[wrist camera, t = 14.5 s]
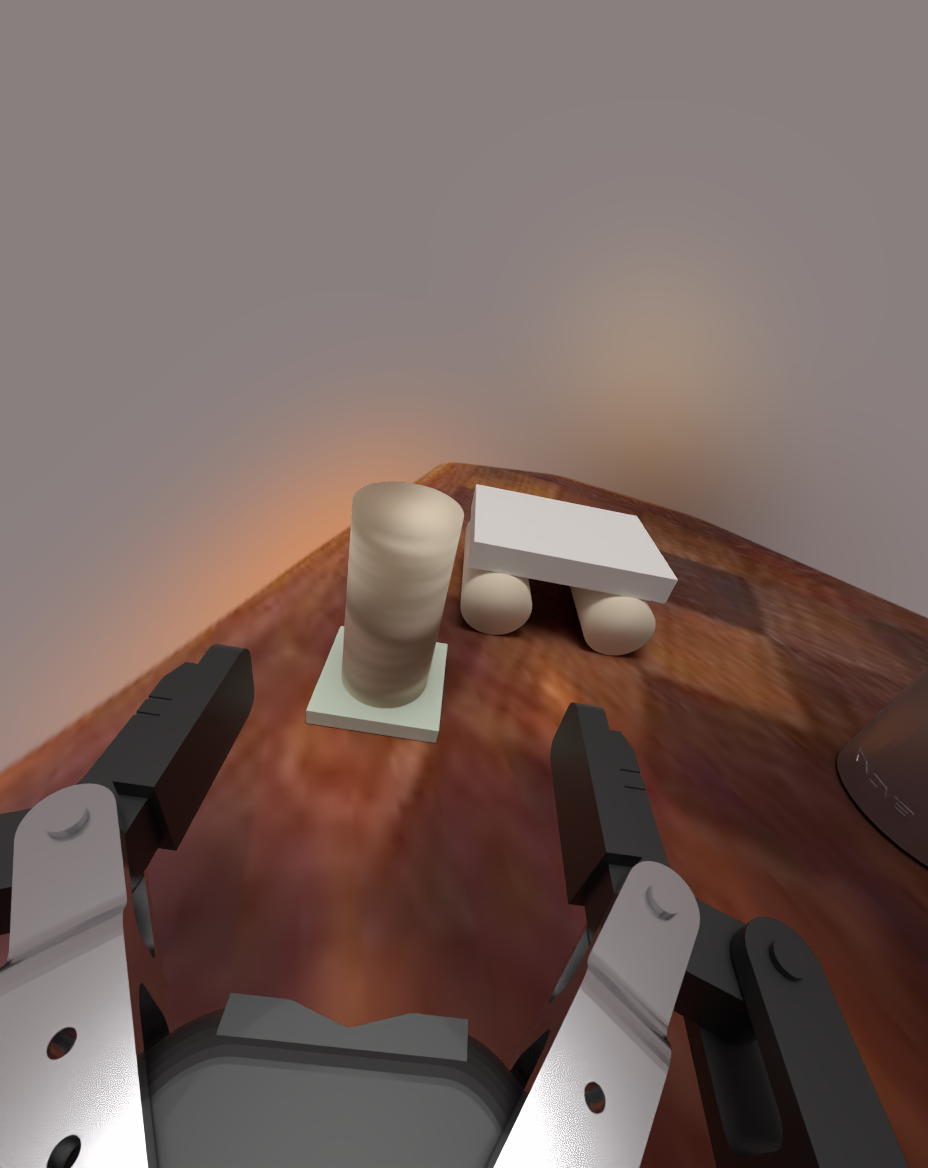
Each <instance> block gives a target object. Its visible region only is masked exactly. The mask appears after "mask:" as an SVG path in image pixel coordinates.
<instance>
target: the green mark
mask: <svg viewBox="0 0 928 1168" xmlns="http://www.w3.org/2000/svg"><path fill="white" fill-rule="evenodd" d="M343 642H344V626H341V627H340V629H339V632H338V634H337V636H336V639H335V641H334V644H333V646H332V649H331V651H330V654H329V656H328V658H327V661H326V663H325V666H324V668H323V671H322V673H321V675H320V678H319V680H318V683H317V685H316V688H315V690H314V693H313V695H312V697H311V700H310V702H309V705H308V707H307V710H306V723H309V724H316V725H322V726H328V727H335V728H341V729H348V730H354V731H361V732H367V733H374V734H380V735H387V736H393V737H400V738H406V739H413V740H419V741H426V742H432V743H436V740H437V736H438V733H439V724H440V714H441V704H442V694H443V684H444V674H445V664H446V654H447V644H443V643H437V642H436V645H435V650H434V654H433V659H432V663H431V668H430V672H429V677H428V681H427V685H426V688H425V690H424V691H423V693H422V694H421V695H420V696H419V697H418V698H417V699H416V700H414V701H413V702H411V703H409V704H407V705H404V706H401V707H397V708H376V707H371V706H368V705H365V704H363V703H361V702H359V701H358V700H356V699H355V698H353V697H352V696H351V695H350V694H349V693H348V692H347V690H346V689H345V687H344V685H343V682H342V676H341V673H342V657H343Z"/></svg>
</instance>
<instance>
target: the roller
mask: <svg viewBox="0 0 928 1168" xmlns="http://www.w3.org/2000/svg"><path fill="white" fill-rule="evenodd" d="M463 519H464V513H463V510H462V508H461V507H460V505H459V504H458V503H457V502H456V501H455V500H453V499H452V498H451V497H449V496H447V495H446V494H444V493H442V492H440V491H437V490H435V489H432V488H429V487H426V486H422V485H418V484H413V483H405V482H380V483H375V484H371V485H367V486H365V487H363V488H361V489H360V490H358V491H357V492H356V493H355V495H354V497H353V504H352V518H351V533H350V549H349V564H348V580H347V595H346V611H345V626H344V642H343V657H342V673H341V676H342V682H343V685H344V687H345V689H346V690H347V692H348V693H349V694H350V695H351V696H352V697H353V698H355V699H356V700H358V701H359V702H361V703H363V704H365V705H368V706H371V707H376V708H397V707H401V706H404V705H407V704H409V703H411V702H413V701H414V700H416V699H417V698H418V697H419V696H420V695H421V694H422V693H423V691H424V690H425V688H426V685H427V681H428V677H429V672H430V668H431V663H432V659H433V654H434V650H435V645H436V641H437V636H438V632H439V627H440V623H441V618H442V614H443V609H444V604H445V600H446V595H447V591H448V586H449V582H450V577H451V573H452V568H453V564H454V559H455V555H456V550H457V546H458V541H459V537H460V532H461V528H462V523H463Z"/></svg>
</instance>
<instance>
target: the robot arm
mask: <svg viewBox="0 0 928 1168" xmlns="http://www.w3.org/2000/svg"><path fill="white" fill-rule="evenodd" d="M253 700H254V683H253V674H252V665H251V656H250V652H249V650H248V649H245V648H239V647H232V646H226V645H220V644H214V645H212V646H211V647H210V648H209V649H208V651H207V652H206V654H205V655H204V656H203V658H202V659H201V660H200V662H199V663H198V664H195V663H189V662H185V663H184V664H182V665H181V666H179V667H178V668H176V669H175V670H173V671H172V672H170V673H169V674H167V675H166V676H164V677H163V679H162V680H161V681H160V682H159V684H158V685H157V686H156V687H155V689H154V690H153V691H152V692H151V694H150V695H149V698H148V700H147V699H146V700H145V701H144V702H143V704H142V705H141V706H140V707H139V709H138V710H137V713H136V715H133V716H132V718H131V719H130V720H129V721H128V723H127V724H126V725H125V726H124V728H123V729H122V730H121V731H120V733H119V734H118V735H117V736H116V738H115V739H114V740H113V741H112V743H111V744H110V745H109V746H108V748H107V749H106V750H105V752H104V753H103V754H102V755H101V757H100V758H99V759H98V760H97V762H96V763H95V764H94V765H93V767H92V768H91V769H90V770H89V772H88V773H87V774H86V775H85V776H84V777H83V779H82V780H81V781H80V782H78V783H77V784H76V785H74V786H70V787H67V788H64V789H62V790H59V791H57V792H55V793H53V794H51V795H49V796H48V797H46V798H45V799H43V800H42V801H40V802H39V803H38V804H37V805H35V806H34V807H33V808H31V809H27V810H22V811H16V812H10V813H3V814H0V935H2V934H7V933H10V944H9V955H8V959H7V962H6V964H5V965H4V966H3V967H1V968H0V1168H639V1167H640V1163H641V1160H642V1157H643V1153H644V1150H645V1146H646V1143H647V1140H648V1136H649V1133H650V1130H651V1126H652V1123H653V1120H654V1116H655V1113H656V1109H657V1106H658V1103H659V1099H660V1096H661V1093H662V1089H663V1086H664V1083H665V1079H666V1076H667V1072H668V1069H669V1064H670V1058H671V1045H670V1043H669V1042H668V1041H667V1037H666V1036H667V1028H668V1025H669V1021H670V1018H671V1015H672V1012H673V1011H675V1012H677V1013H679V1014H680V1015H682V1016H684V1021H685V1025H686V1030H687V1035H688V1039H689V1044H690V1048H691V1053H692V1057H693V1062H694V1066H695V1071H696V1076H697V1080H698V1085H699V1089H700V1094H701V1098H702V1103H703V1108H704V1112H705V1117H706V1121H707V1126H708V1130H709V1135H710V1140H711V1144H712V1149H713V1153H714V1158H715V1162H716V1167H717V1168H909V1167H908V1164H907V1162H906V1160H905V1157H904V1155H903V1153H902V1151H901V1148H900V1146H899V1144H898V1141H897V1139H896V1137H895V1134H894V1132H893V1130H892V1128H891V1125H890V1123H889V1121H888V1118H887V1116H886V1114H885V1111H884V1109H883V1107H882V1105H881V1102H880V1100H879V1098H878V1095H877V1093H876V1091H875V1088H874V1086H873V1084H872V1082H871V1079H870V1077H869V1075H868V1072H867V1070H866V1068H865V1065H864V1063H863V1061H862V1059H861V1056H860V1054H859V1052H858V1049H857V1047H856V1045H855V1042H854V1040H853V1038H852V1036H851V1033H850V1031H849V1029H848V1026H847V1024H846V1022H845V1019H844V1017H843V1015H842V1012H841V1010H840V1008H839V1006H838V1003H837V1001H836V999H835V996H834V994H833V992H832V989H831V987H830V985H829V983H828V980H827V978H826V976H825V973H824V971H823V969H822V967H821V965H820V963H819V961H818V959H817V957H816V956H815V954H814V953H813V951H812V950H811V949H810V947H809V946H808V945H807V943H806V942H805V941H804V940H803V939H802V938H801V937H800V936H799V935H798V934H797V933H796V932H795V931H793V930H792V929H791V928H790V927H788V926H787V925H785V924H783V923H782V922H780V921H778V920H776V919H773V918H769V917H757V918H755V919H753V920H751V921H750V922H749V923H747V924H745V923H743V922H741V921H739V920H736V919H734V918H732V917H730V916H728V915H726V914H724V913H722V912H720V911H718V910H716V909H714V908H712V907H710V906H708V905H706V904H705V903H703V902H701V901H700V900H698V899H697V898H696V897H694V895H693V893H692V892H691V890H690V888H689V887H688V885H687V884H686V883H685V881H684V880H683V879H682V878H681V877H680V876H679V875H678V874H677V873H675V872H674V871H673V870H671V868H670V866H669V864H668V861H667V858H666V855H665V852H664V849H663V845H662V842H661V839H660V836H659V832H658V829H657V826H656V822H655V819H654V816H653V812H652V809H651V806H650V802H649V799H648V796H647V793H645V786H644V783H643V779H642V776H640V769H639V766H638V763H637V759H636V756H635V753H634V750H633V749H632V748H631V746H630V745H629V743H628V742H627V740H626V739H625V738H624V736H623V735H622V733H621V732H618V731H612V730H609V726H608V722H607V718H606V715H605V712H604V710H603V708H602V707H598V706H591V705H585V704H579V703H571V704H570V705H569V707H568V709H567V711H566V713H565V715H564V717H563V719H562V722H561V724H560V726H559V728H558V730H557V732H556V734H555V737H554V739H553V742H552V747H551V758H550V759H551V770H552V778H553V786H554V794H555V802H556V810H557V817H558V825H559V833H560V841H561V849H562V857H563V865H564V873H565V881H566V889H567V897H568V904H573V905H580V906H585V911H586V918H587V923H586V925H585V926H584V928H583V930H582V932H581V934H580V936H579V937H578V939H577V941H576V943H575V945H574V947H573V949H572V951H571V953H570V955H569V957H568V959H567V961H566V963H565V964H564V966H563V968H562V970H561V972H560V974H559V976H558V978H557V980H556V982H555V984H554V986H553V988H552V989H551V991H550V993H549V995H548V997H547V999H546V1001H545V1003H544V1005H543V1006H542V1008H541V1010H540V1012H539V1013H538V1015H537V1016H536V1018H535V1019H534V1021H533V1022H532V1024H531V1025H530V1027H529V1029H528V1030H527V1032H526V1034H525V1035H524V1037H523V1039H522V1041H521V1043H520V1044H519V1046H518V1048H517V1050H516V1052H515V1054H514V1056H513V1058H512V1059H511V1061H510V1063H509V1065H508V1067H506V1066H505V1065H504V1063H503V1062H502V1061H501V1060H500V1059H499V1058H498V1057H497V1056H496V1055H495V1054H494V1053H493V1052H492V1051H491V1050H490V1049H489V1048H487V1047H486V1046H485V1045H483V1044H482V1043H481V1042H479V1041H478V1040H476V1039H475V1038H473V1037H471V1036H469V1035H468V1019H460V1018H451V1017H442V1016H433V1015H424V1014H415V1013H409V1014H405V1015H401V1016H397V1017H393V1018H388V1019H384V1020H380V1021H376V1022H372V1023H367V1024H363V1025H359V1026H355V1027H345V1026H342V1025H340V1024H338V1023H336V1022H334V1021H332V1020H330V1019H328V1018H326V1017H324V1016H322V1015H320V1014H318V1013H316V1012H314V1011H312V1010H310V1009H308V1008H306V1007H304V1006H302V1005H300V1004H298V1003H296V1002H294V1001H292V1000H290V999H281V998H273V997H264V996H255V995H246V994H237V993H230V996H229V999H228V1002H227V1005H226V1008H225V1009H221V1010H217V1011H214V1012H211V1013H208V1014H206V1015H203V1016H200V1017H198V1018H196V1019H194V1020H192V1021H190V1022H188V1023H186V1024H185V1025H183V1026H181V1027H179V1028H178V1029H176V1030H175V1029H174V1023H173V1016H172V1010H171V1004H170V999H169V994H168V989H167V985H166V981H165V978H164V974H163V971H162V967H161V962H160V956H159V949H158V942H157V936H156V929H155V922H154V915H153V908H152V901H151V895H150V888H149V881H148V874H147V869H146V868H147V866H148V864H149V863H150V861H151V859H152V857H153V856H154V854H155V852H156V850H157V849H158V848H161V849H168V850H177V848H178V846H179V845H180V843H181V841H182V839H183V837H184V835H185V833H186V832H187V830H188V828H189V826H190V824H191V822H192V820H193V819H194V817H195V815H196V813H197V811H198V809H199V807H200V805H201V804H202V802H203V800H204V798H205V796H206V794H207V792H208V791H209V789H210V787H211V785H212V783H213V781H214V779H215V777H216V776H217V774H218V772H219V770H220V768H221V766H222V764H223V763H224V761H225V759H226V757H227V755H228V753H229V751H230V749H231V748H232V746H233V744H234V742H235V740H236V738H237V736H238V735H239V733H240V731H241V729H242V727H243V725H244V723H245V721H246V720H247V718H248V716H249V713H250V711H251V708H252V705H253ZM837 767H838V772H839V774H840V777H841V779H842V782H843V784H844V786H845V787H846V789H847V790H848V792H849V794H850V795H851V797H852V798H853V800H854V801H855V802H856V803H857V805H858V806H859V807H860V809H861V810H862V811H863V812H864V814H865V815H866V816H867V817H868V818H869V819H870V820H871V821H872V822H873V823H874V824H875V825H876V826H877V827H878V828H879V829H880V830H881V831H882V832H883V833H884V834H886V835H887V836H888V837H889V838H890V839H891V840H892V841H894V842H895V843H896V844H897V845H898V846H899V847H901V848H902V849H903V850H905V851H906V852H907V853H909V854H910V855H912V856H913V857H914V858H916V859H917V860H918V861H920V862H921V863H923V864H924V865H926V866H928V666H927V667H926V668H925V669H924V670H923V671H922V672H921V673H920V674H919V675H918V676H917V677H916V678H915V679H914V680H913V681H911V682H910V683H909V684H908V685H907V686H906V687H905V688H904V689H903V690H902V691H901V692H900V693H899V694H898V695H897V696H896V697H895V698H894V699H893V700H892V701H891V702H890V703H889V704H888V705H887V706H886V707H885V708H884V709H882V710H881V711H880V712H879V713H878V714H877V715H876V716H875V717H874V718H873V719H872V720H871V721H870V722H869V723H868V724H867V725H866V726H865V727H864V728H863V729H862V730H861V731H860V732H859V733H858V734H857V735H856V736H855V737H854V738H853V739H852V740H851V741H850V742H849V743H848V744H847V745H846V746H845V747H844V748H843V749H842V750H841V751H840V752H839V754H838V757H837Z"/></svg>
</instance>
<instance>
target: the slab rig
mask: <svg viewBox="0 0 928 1168" xmlns="http://www.w3.org/2000/svg"><path fill="white" fill-rule="evenodd" d="M528 578H530V579H535V580H541V581H546V582H552V583H557V584H562V585H568V586H570V588H571V592H572V596H573V599H574V603H575V606H576V610H577V613H578V617H579V621H580V624H581V628H582V631H583V635H584V638H585V641H586V643H587V644H588V645H589V646H590V647H591V648H592V649H593V650H595V651H597V652H599V653H601V654H605V655H623V654H627V653H630V652H633V651H635V650H637V649H639V648H641V647H642V646H643V645H645V644H646V643H647V642H648V641H649V639H650V638H651V637H652V635H653V633H654V630H655V618H654V616H653V613H652V611H651V609H650V607H649V605H648V603H647V601H646V600H649V601H654V602H659V603H666V601H667V599H668V597H669V595H670V594H671V592H672V590H673V588H674V586H675V584H676V583H677V581H678V580H677V578H676V576H675V575H674V573H673V572H672V570H671V569H670V567H669V566H668V564H667V562H666V561H665V559H664V558H663V556H662V555H661V553H660V552H659V550H658V548H657V547H656V545H655V544H654V542H653V541H652V539H651V537H650V536H649V534H648V533H647V531H646V530H645V528H644V527H643V525H642V523H641V522H640V520H639V519H638V517H637V516H633V515H628V514H623V513H618V512H613V511H608V510H603V509H598V508H593V507H588V506H583V505H578V504H573V503H568V502H563V501H558V500H553V499H548V498H543V497H538V496H533V495H528V494H523V493H518V492H513V491H508V490H503V489H498V488H493V487H488V486H483V485H478V484H476V488H475V493H474V497H473V502H472V507H471V520H470V521H469V523H468V525H467V528H466V534H465V548H464V562H463V576H462V590H461V604H460V608H461V613H462V616H463V618H464V620H465V621H466V622H467V623H468V624H469V625H470V626H471V627H472V628H474V629H475V630H477V631H479V632H482V633H485V634H491V635H501V634H506V633H510V632H512V631H515V630H516V629H518V628H520V627H521V626H522V625H523V624H524V623H525V622H526V621H527V620H528V618H529V616H530V614H531V611H532V599H531V593H530V586H529V579H528Z"/></svg>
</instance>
